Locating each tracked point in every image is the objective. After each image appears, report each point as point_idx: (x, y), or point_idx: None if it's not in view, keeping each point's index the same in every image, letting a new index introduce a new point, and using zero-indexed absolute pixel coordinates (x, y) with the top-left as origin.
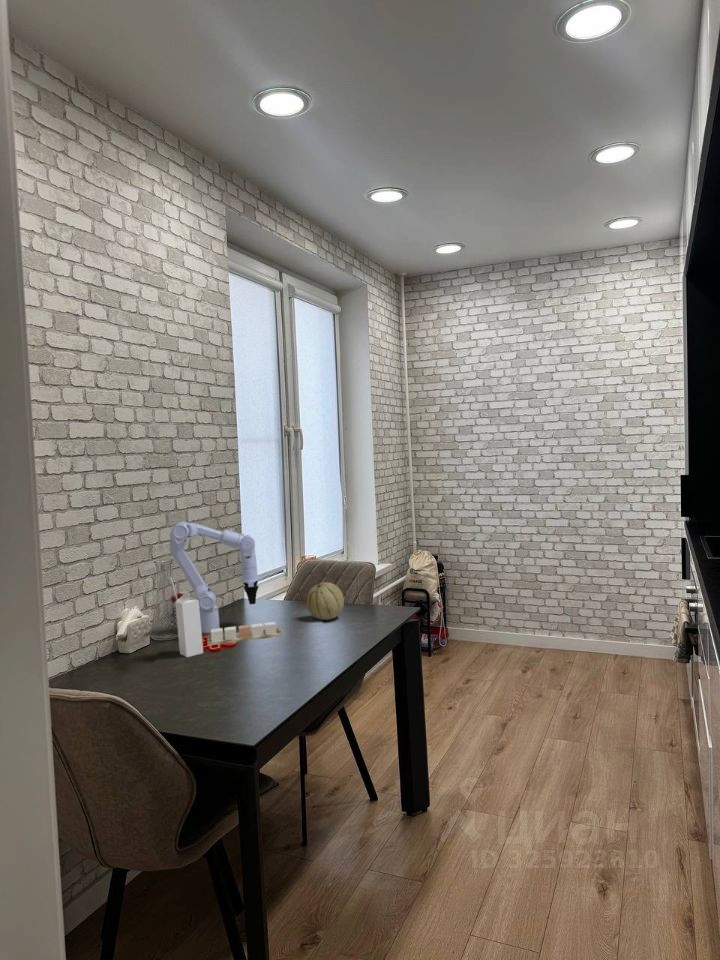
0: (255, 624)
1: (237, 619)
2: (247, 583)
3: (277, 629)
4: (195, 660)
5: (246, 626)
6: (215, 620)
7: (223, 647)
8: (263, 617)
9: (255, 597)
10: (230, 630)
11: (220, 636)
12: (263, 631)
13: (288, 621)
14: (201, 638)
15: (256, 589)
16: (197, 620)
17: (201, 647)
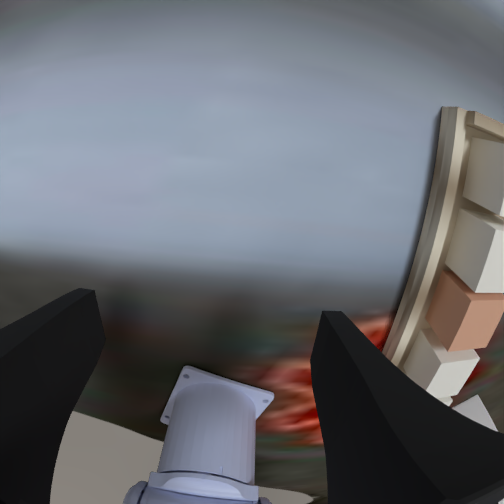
0: (490, 270)
1: (37, 288)
2: (20, 500)
3: (462, 123)
4: (492, 399)
5: (485, 316)
6: (245, 436)
7: None
8: (33, 159)
9: (387, 361)
10: (467, 374)
11: None
12: (448, 204)
13: (200, 2)
14: (495, 428)
15: (492, 446)
16: None
17: (486, 411)
